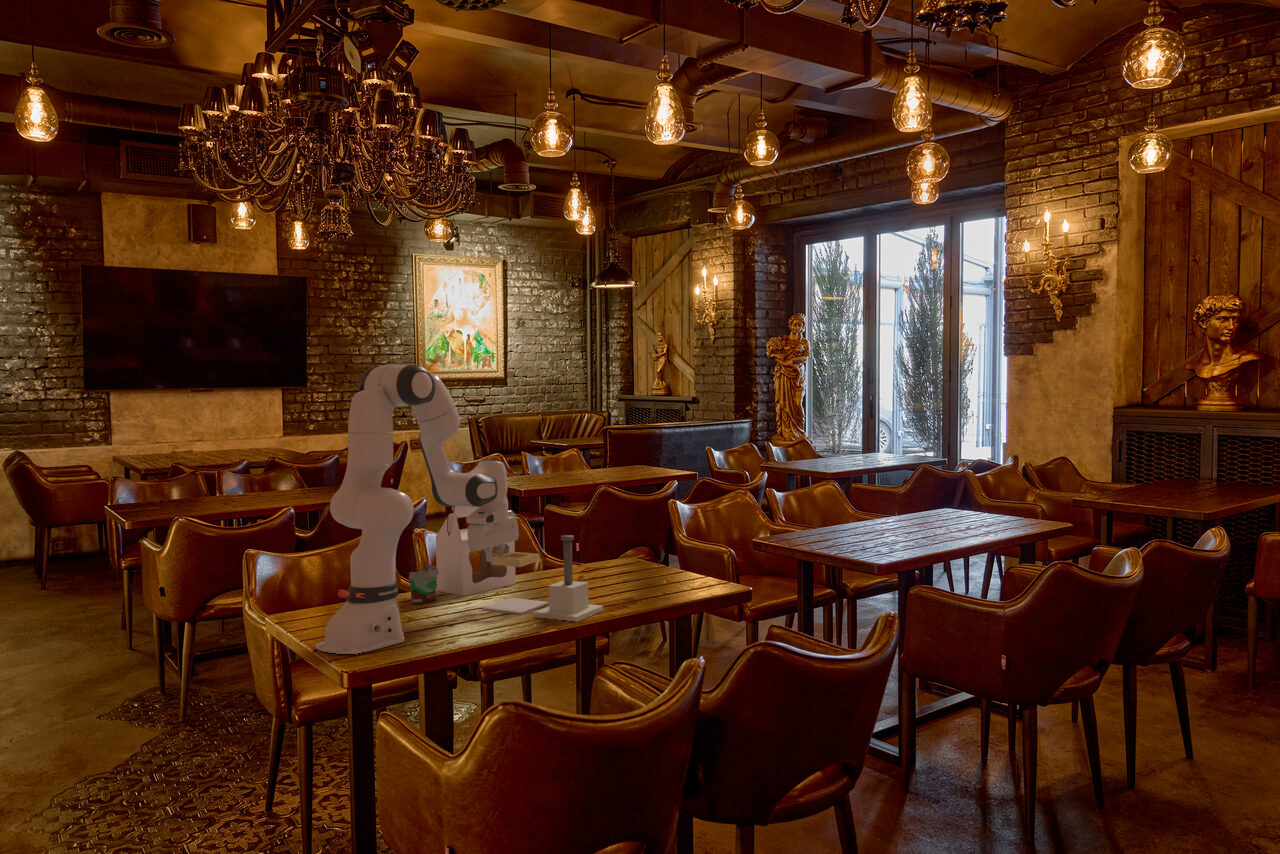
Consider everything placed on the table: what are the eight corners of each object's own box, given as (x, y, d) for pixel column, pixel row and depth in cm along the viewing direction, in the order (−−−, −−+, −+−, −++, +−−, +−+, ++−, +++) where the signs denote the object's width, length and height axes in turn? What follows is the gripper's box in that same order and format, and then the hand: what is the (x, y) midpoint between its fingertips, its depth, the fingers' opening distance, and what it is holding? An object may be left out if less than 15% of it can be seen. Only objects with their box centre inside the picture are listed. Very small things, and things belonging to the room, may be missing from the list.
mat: (521, 614, 254) (521, 612, 254) (482, 609, 261) (482, 607, 261) (549, 604, 266) (549, 602, 266) (511, 599, 273) (511, 597, 273)
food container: (428, 606, 266) (428, 572, 266) (409, 606, 268) (408, 572, 267) (446, 597, 278) (445, 565, 278) (427, 596, 280) (426, 564, 279)
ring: (519, 567, 257) (519, 560, 257) (477, 563, 264) (477, 556, 264) (539, 560, 265) (539, 553, 265) (498, 557, 273) (498, 550, 272)
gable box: (490, 579, 305) (488, 496, 304) (516, 584, 296) (514, 499, 295) (436, 591, 288) (433, 503, 287) (462, 596, 279) (459, 506, 278)
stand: (576, 622, 244) (575, 541, 243) (534, 617, 251) (532, 538, 250) (603, 610, 257) (601, 533, 256) (562, 606, 263) (560, 531, 262)
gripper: (506, 508, 277) (507, 553, 278) (462, 518, 259) (464, 566, 260) (522, 509, 274) (524, 554, 275) (480, 519, 256) (482, 567, 257)
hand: (495, 560), depth 267 cm, fingers closed on ring, 2 cm apart
